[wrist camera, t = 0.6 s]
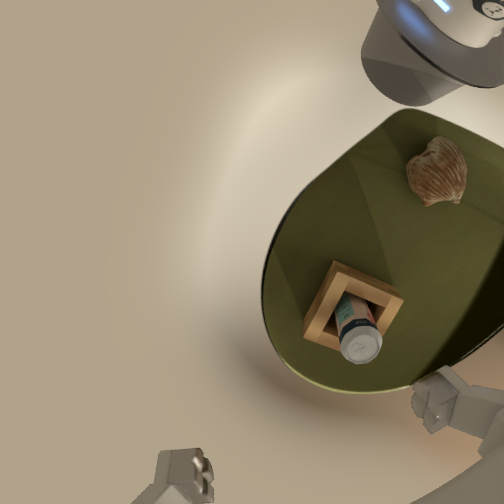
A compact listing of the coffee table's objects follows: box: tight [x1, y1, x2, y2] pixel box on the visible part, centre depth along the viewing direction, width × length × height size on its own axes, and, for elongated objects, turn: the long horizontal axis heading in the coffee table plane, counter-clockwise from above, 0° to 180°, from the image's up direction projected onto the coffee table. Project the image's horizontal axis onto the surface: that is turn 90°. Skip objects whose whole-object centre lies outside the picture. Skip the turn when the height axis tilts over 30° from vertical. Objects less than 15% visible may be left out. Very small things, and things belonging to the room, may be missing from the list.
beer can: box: [334, 291, 382, 364], centre depth 34 cm, size 5×5×12 cm
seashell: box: [406, 136, 468, 207], centre depth 30 cm, size 9×7×8 cm
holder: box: [303, 260, 404, 351], centre depth 37 cm, size 10×10×5 cm
